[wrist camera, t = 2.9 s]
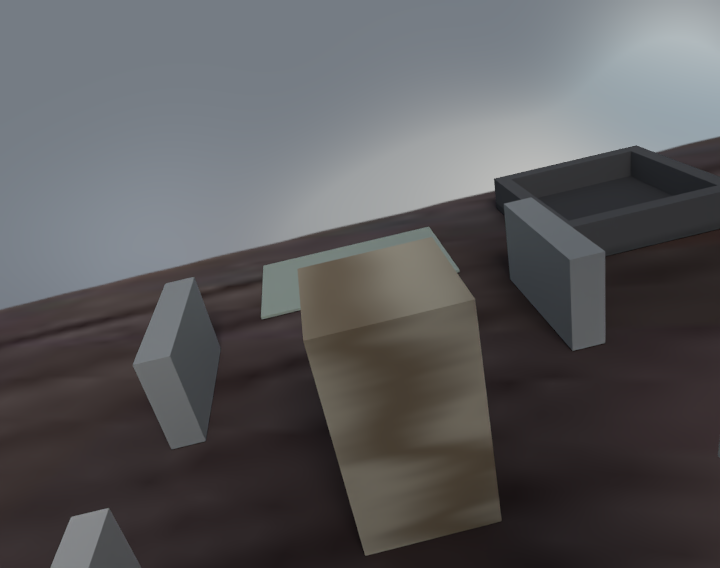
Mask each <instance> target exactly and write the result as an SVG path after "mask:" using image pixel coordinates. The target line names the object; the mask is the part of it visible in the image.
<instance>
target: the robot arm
mask: <svg viewBox="0 0 720 568" xmlns="http://www.w3.org/2000/svg"><path fill="white" fill-rule="evenodd" d="M718 456H719V457H720V441H719V449H718ZM51 568H141V566H140V564H139V562H138V561H137V559H136V557H135V555H134V553H133V551H132V550H131V548H130V546H129V544H128V542H127V540H126V538H125V537H124V535H123V533H122V531H121V529H120V527H119V526H118V524H117V522H116V520H115V518H114V516H113V514H112V513H111V511H110V509H109V508H106V509H102V510H98V511H94V512H90V513H86V514H82V515H78V516H73V517H71V519H70V521H69V523H68V526H67V528H66V531H65V533H64V536H63V538H62V541H61V543H60V546H59V548H58V550H57V553H56V555H55V558H54V560H53V563H52V565H51Z"/></svg>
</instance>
